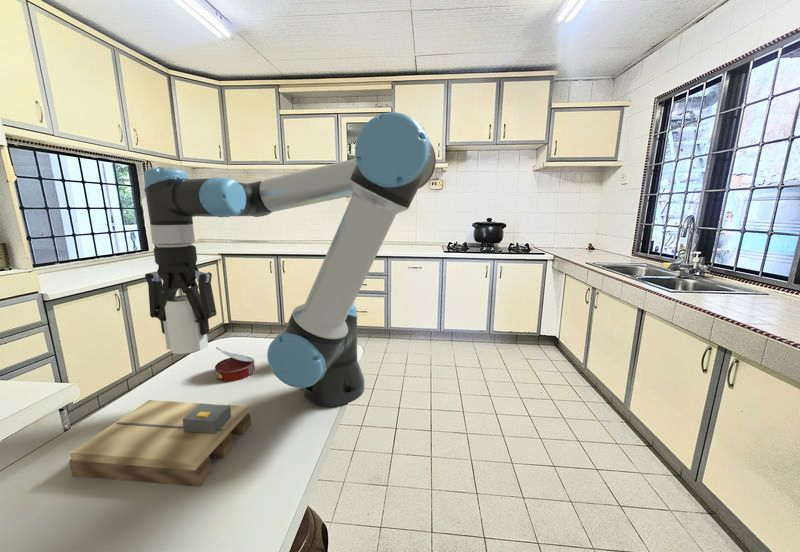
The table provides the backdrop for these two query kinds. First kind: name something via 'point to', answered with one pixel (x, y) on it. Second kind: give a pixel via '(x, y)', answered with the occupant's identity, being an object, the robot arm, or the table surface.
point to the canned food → (234, 367)
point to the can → (180, 325)
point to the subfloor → (157, 446)
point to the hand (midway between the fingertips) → (187, 347)
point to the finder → (207, 418)
